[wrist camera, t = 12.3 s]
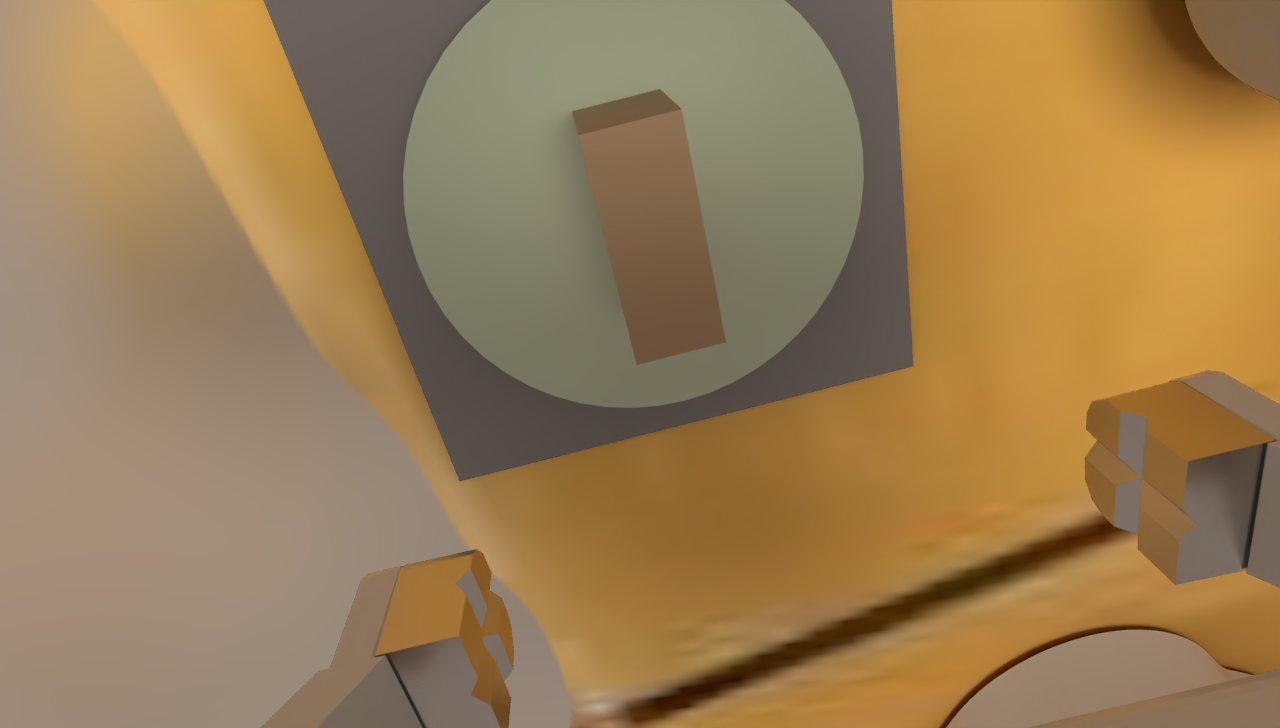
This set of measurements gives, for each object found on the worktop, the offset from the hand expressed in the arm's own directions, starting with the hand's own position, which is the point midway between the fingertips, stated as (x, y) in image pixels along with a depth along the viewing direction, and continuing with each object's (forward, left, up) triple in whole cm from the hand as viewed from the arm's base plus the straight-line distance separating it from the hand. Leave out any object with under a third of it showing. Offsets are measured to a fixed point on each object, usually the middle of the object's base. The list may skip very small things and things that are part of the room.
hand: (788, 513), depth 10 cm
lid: (+1, 0, -14) cm, 14 cm away
